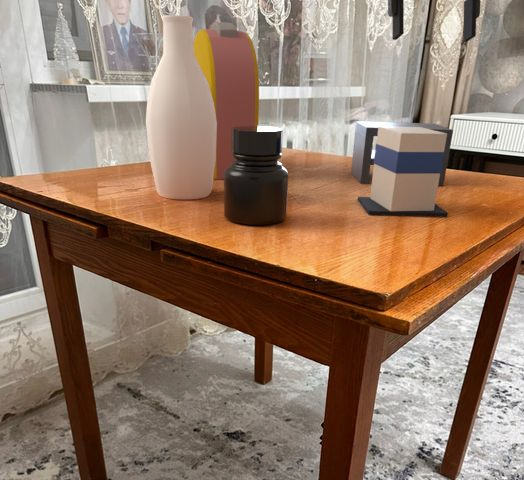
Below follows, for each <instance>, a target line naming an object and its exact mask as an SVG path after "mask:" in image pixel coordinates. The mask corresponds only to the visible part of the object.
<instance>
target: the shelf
mask: <svg viewBox="0 0 524 480" xmlns="http://www.w3.org/2000/svg"><path fill="white" fill-rule="evenodd" d="M378 127H422V128H426V129H430V130H434V131H438V132H442V133H446V134H447V137H446V143H445V149H444V158H443V164H442V169H441V173H440V177H439V183H438V187H439V186H442V187H443V186H444V183H445V179H446V173H447V167H448V163H449V155H450V150H451V145H452V140H453V139H452V138H453V134H454V129H452V128H449V127H445V126H443V125H441V124H440V125H439V124H437V123H429V122H428V123H424V122H393V121H392V122H391V121H390V122H389V121H358V120H356V121H355V128H354V139H353V148H352V160H351V168H350V169H351V170H350V173H351V174H352V176H354V178H355V179H356V180H357V181H358V183H359V184H365V185H366V184H369V181H370V171H371V166H374V156H375V149H373V147H374V145H373V144H374V137H377V135H378Z"/></svg>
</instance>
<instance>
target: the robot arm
mask: <svg viewBox="0 0 524 480" xmlns="http://www.w3.org/2000/svg"><path fill="white" fill-rule="evenodd" d="M404 3H405V1H404V0H387V14H388V17H389V18H392V23H391V25H392V40H393V41H396V40H398V39H399V38H400V37H402V36H403V35H404V33H405V31H404V28H405V27H404V23H405V19H404V17H405V16H404V14H405V13H404V12H405V9H404V8H405V6H404ZM480 15H481V0H464V1H463V26H462V27H463V31H462V38H463V39H462V41H463V43H467V42H469V41H471V40H473V38H475V37H476V36H477V35H476V34H477V19H478V18H479V17H480Z"/></svg>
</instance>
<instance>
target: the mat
mask: <svg viewBox="0 0 524 480" xmlns="http://www.w3.org/2000/svg"><path fill="white" fill-rule="evenodd" d="M357 202H358V203H359V204H360V206H361V207H362V208H363V209H364V211H365V212H366V214H367V215H368V216H391V217H392V216H394V217H395V216H397V217H432V218H433V217H435V218H438V217H439V218H447V217H448V216H449V212H447V211H446V210H445V209H443V208H442V207H441V206H440V205H438V204H437V203H436V202H435V206H434V211H389V210H388V209H386V208H385V207H383V206H381V205H380V204H378V203H377V202H375V201H373V200H372V199H370V196H358V197H357Z"/></svg>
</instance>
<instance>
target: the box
mask: <svg viewBox="0 0 524 480" xmlns="http://www.w3.org/2000/svg"><path fill="white" fill-rule="evenodd" d="M446 137H447V134H446V133H442V132H438V131H434V130H430V129H426V128H422V127H378V135H377V136H376V142H375V146H374V148H375V149H374V150H375V156H374V165H373V168H372V169H373V170H372V178H371V185H370V186H371V187H370V195H369V197H370V199H372V200H373V201H375V202H377V203H378V204H380V205H381V206H383V207H385V208H386V209H388V210H389V211H434V206H435V203H436V200H437V195H438V188H439V186H438V183H439V177H440V173H441V169H442V164H443V158H444V149H445V143H446Z"/></svg>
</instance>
